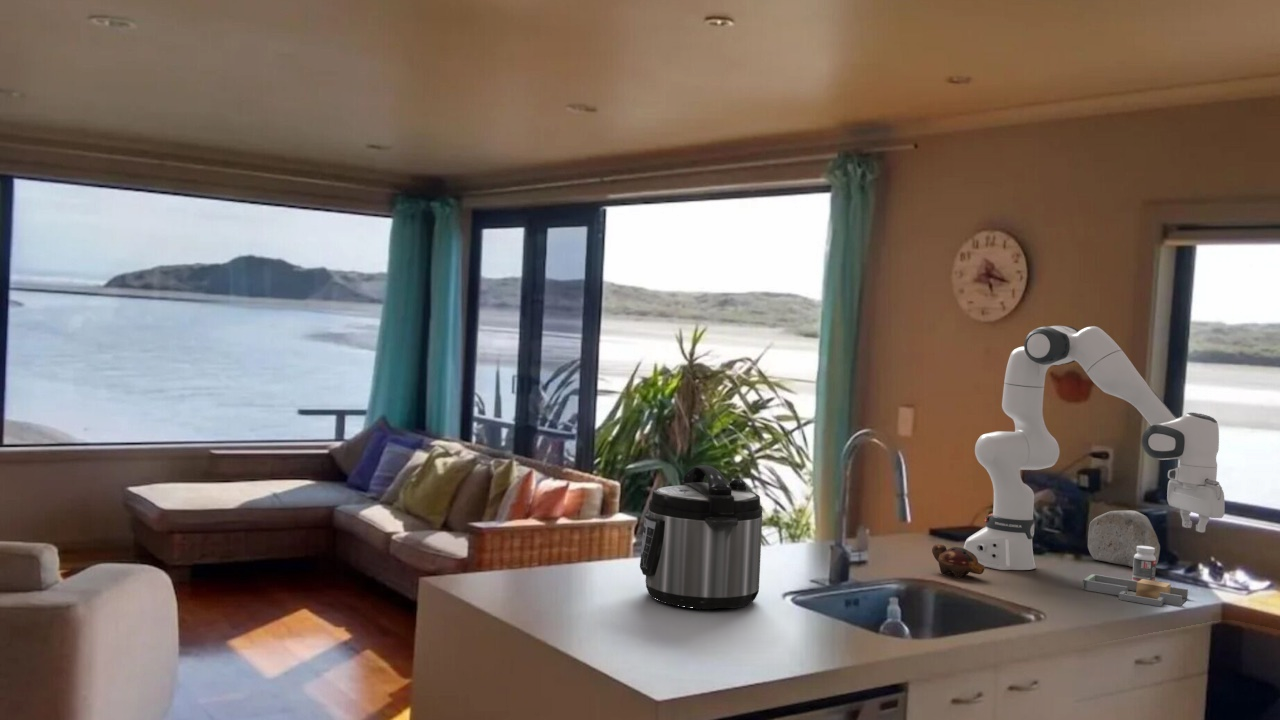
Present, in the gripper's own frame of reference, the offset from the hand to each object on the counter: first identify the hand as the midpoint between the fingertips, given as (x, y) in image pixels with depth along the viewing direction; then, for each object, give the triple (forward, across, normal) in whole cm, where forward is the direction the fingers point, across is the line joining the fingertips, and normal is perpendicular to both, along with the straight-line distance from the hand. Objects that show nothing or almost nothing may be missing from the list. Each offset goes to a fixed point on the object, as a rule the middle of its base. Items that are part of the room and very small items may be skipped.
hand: (1193, 529), depth 294 cm
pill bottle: (+19, +23, 0) cm, 30 cm away
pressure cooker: (+19, -12, +130) cm, 132 cm away
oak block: (+19, +5, +7) cm, 21 cm away
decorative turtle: (+19, +24, +53) cm, 61 cm away
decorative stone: (+19, +48, -8) cm, 52 cm away
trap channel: (+19, +6, +12) cm, 23 cm away
